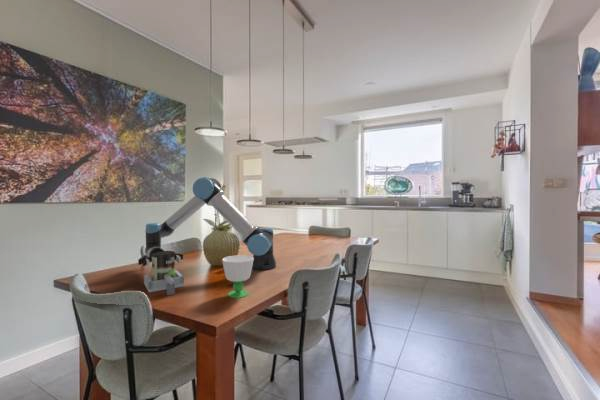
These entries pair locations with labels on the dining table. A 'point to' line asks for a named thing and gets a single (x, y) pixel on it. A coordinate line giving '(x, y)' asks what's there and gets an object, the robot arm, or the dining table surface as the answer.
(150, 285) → the tray
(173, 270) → the coffee can
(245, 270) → the cup
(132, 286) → the dining table surface
